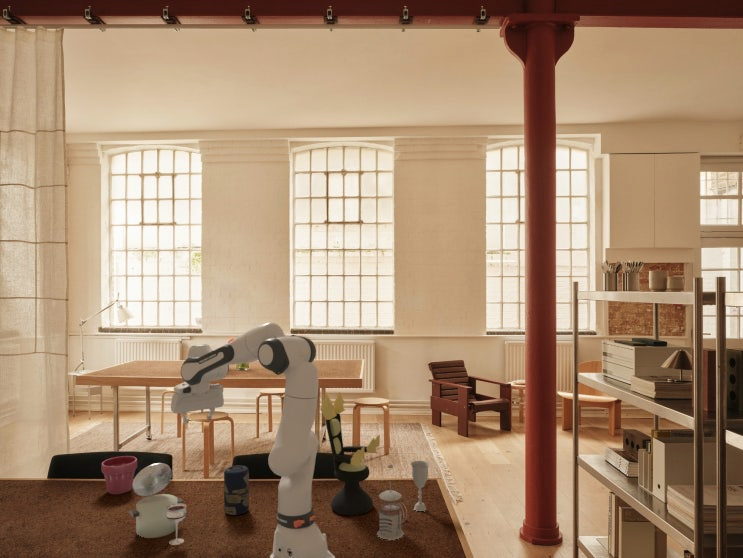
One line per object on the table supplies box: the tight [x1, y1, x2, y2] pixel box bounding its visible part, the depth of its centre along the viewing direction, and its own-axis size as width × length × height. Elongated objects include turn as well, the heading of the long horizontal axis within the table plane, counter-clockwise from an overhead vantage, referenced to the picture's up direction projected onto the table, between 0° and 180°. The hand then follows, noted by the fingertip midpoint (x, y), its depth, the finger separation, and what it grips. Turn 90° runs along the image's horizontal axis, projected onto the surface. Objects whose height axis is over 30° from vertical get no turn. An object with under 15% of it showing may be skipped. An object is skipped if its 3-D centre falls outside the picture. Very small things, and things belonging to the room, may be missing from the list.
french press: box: [376, 463, 408, 541], centre depth 200 cm, size 10×12×25 cm
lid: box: [132, 462, 173, 497], centre depth 209 cm, size 14×14×2 cm
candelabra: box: [320, 392, 381, 516], centre depth 224 cm, size 19×22×45 cm
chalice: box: [410, 460, 430, 512], centre depth 222 cm, size 7×7×18 cm
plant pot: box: [101, 455, 138, 495], centre depth 242 cm, size 14×14×13 cm
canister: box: [223, 464, 250, 516], centre depth 220 cm, size 10×10×18 cm
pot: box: [129, 493, 184, 539], centre depth 205 cm, size 14×18×10 cm
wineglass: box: [166, 502, 188, 546], centre depth 196 cm, size 7×7×12 cm
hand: (197, 421), depth 219 cm, fingers open, 8 cm apart
